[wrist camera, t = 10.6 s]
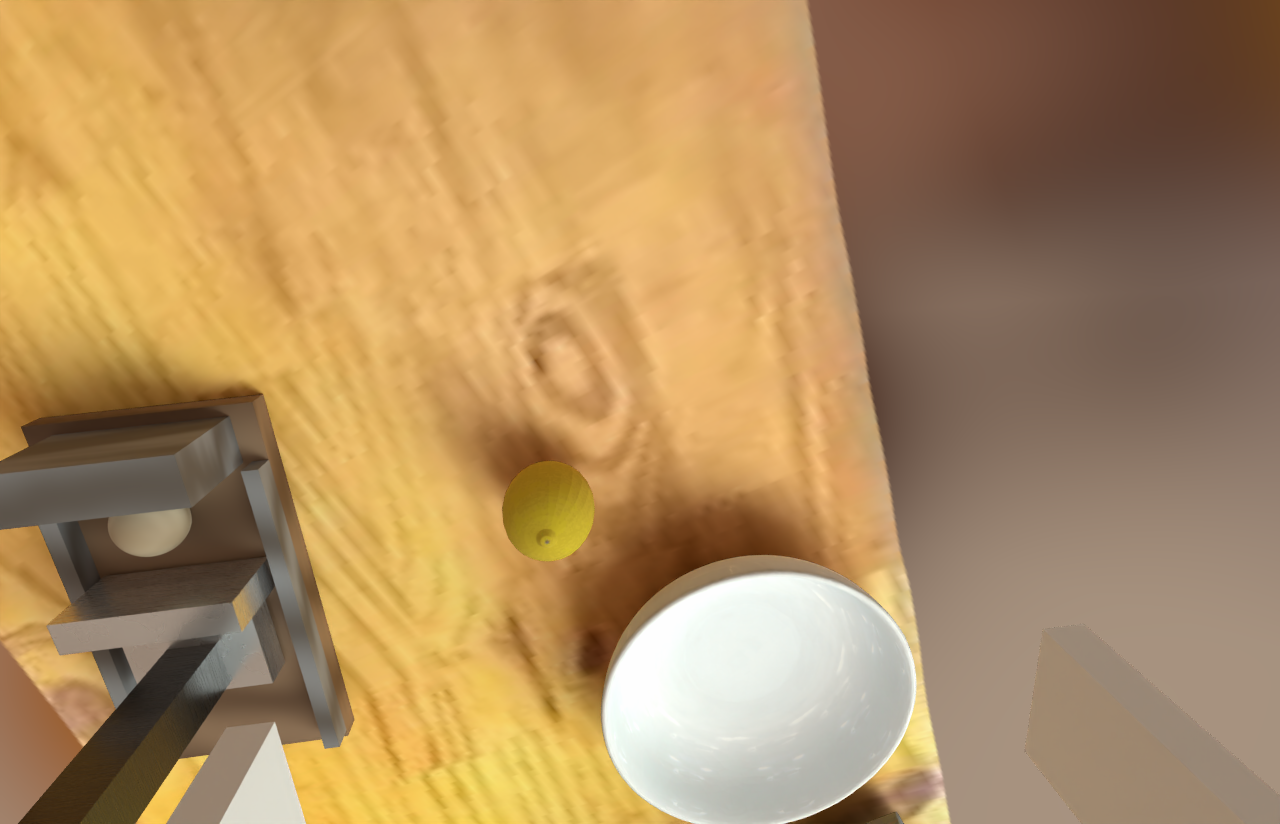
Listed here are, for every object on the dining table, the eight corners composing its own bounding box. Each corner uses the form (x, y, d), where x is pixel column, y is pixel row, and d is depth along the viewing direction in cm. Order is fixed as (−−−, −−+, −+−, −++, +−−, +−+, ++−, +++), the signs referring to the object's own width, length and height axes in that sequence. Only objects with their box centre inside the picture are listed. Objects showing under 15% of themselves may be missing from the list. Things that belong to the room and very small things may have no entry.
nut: (125, 480, 41) (80, 511, 38) (193, 472, 42) (156, 502, 38) (146, 539, 43) (105, 574, 39) (213, 531, 43) (178, 565, 39)
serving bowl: (690, 471, 46) (710, 519, 40) (928, 590, 51) (979, 650, 45) (547, 698, 51) (543, 774, 45) (776, 787, 56) (802, 866, 50)
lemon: (536, 532, 47) (529, 601, 39) (492, 468, 45) (476, 526, 37) (607, 494, 46) (614, 556, 39) (565, 427, 44) (565, 479, 37)
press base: (39, 418, 41) (-71, 468, 34) (262, 394, 42) (200, 438, 35) (169, 744, 49) (102, 839, 42) (354, 719, 50) (318, 808, 43)
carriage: (104, 576, 43) (-126, 772, 29) (269, 556, 43) (122, 739, 29) (145, 680, 45) (-47, 907, 31) (300, 660, 46) (180, 874, 32)
